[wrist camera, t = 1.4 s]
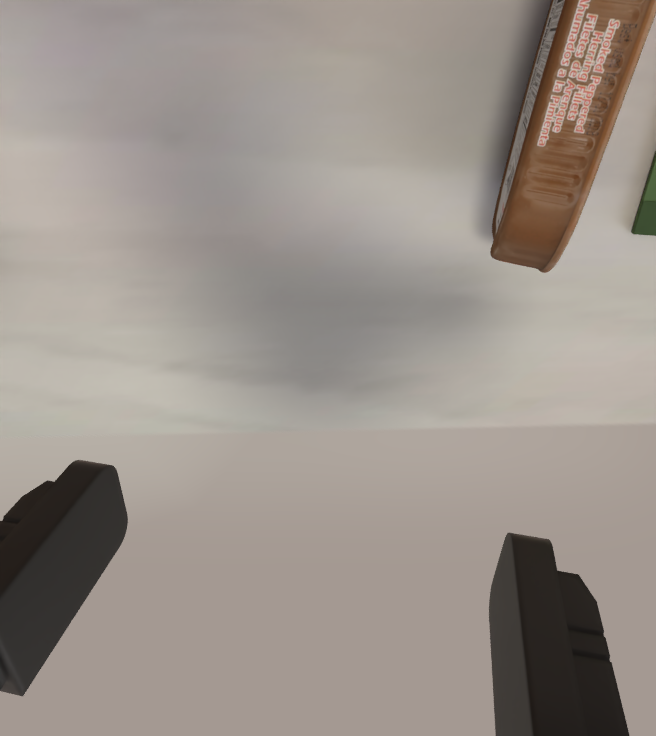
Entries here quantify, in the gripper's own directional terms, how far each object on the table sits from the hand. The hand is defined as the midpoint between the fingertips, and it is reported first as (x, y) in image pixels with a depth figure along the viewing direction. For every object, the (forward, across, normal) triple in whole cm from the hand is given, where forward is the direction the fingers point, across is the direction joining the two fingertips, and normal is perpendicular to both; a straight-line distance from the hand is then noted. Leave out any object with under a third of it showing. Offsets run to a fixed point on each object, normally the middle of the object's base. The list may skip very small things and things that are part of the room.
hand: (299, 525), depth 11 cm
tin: (+22, -6, -7) cm, 24 cm away
